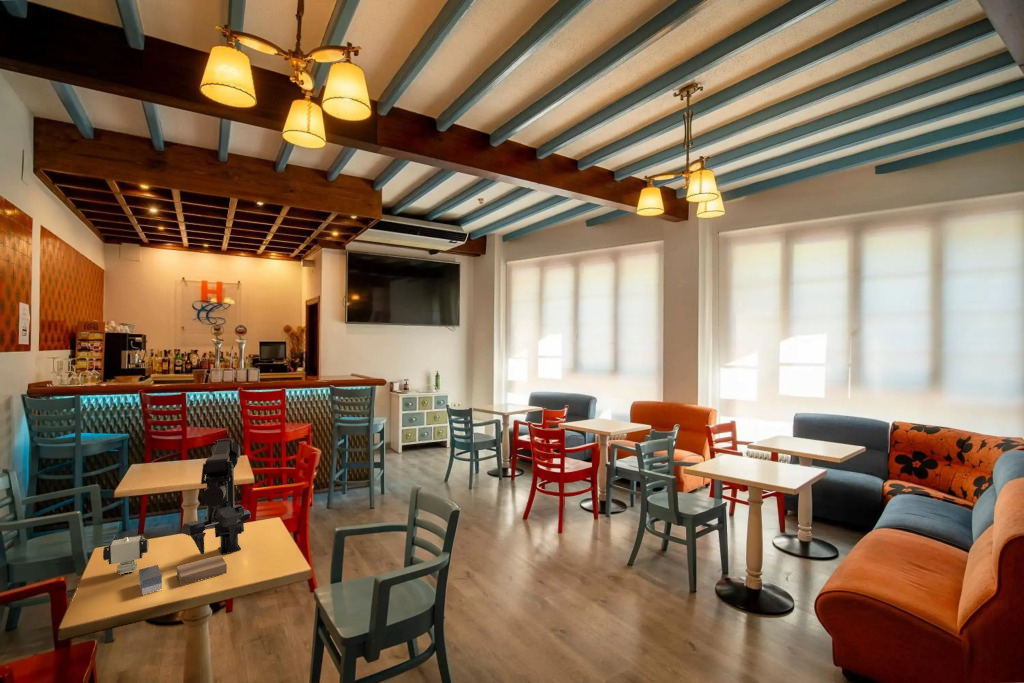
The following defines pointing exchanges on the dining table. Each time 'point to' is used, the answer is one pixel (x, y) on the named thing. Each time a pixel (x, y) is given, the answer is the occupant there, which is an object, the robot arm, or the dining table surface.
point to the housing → (150, 579)
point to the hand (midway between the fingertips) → (217, 549)
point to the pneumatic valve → (126, 552)
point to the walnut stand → (201, 569)
